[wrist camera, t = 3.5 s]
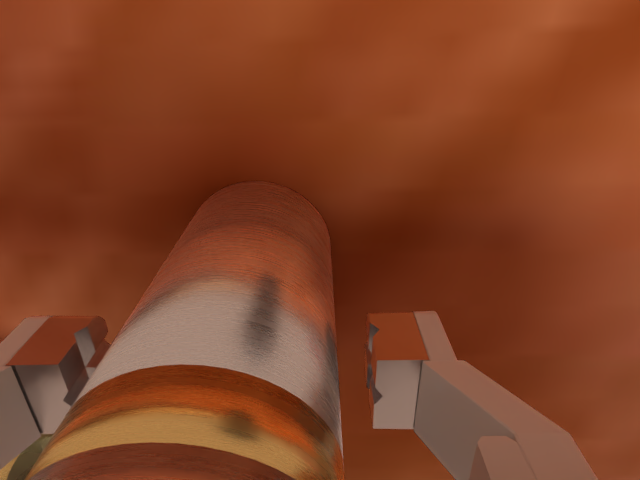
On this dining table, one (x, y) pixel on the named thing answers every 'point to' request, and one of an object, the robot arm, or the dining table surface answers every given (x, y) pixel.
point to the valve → (219, 357)
